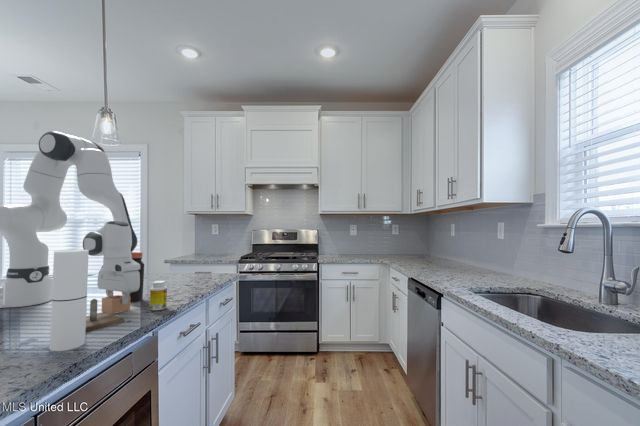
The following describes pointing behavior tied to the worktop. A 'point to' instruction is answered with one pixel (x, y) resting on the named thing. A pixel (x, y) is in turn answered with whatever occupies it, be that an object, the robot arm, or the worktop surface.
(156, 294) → the supplement bottle
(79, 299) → the cylindrical container
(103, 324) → the pin stand
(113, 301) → the light brown block
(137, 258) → the vinegar
